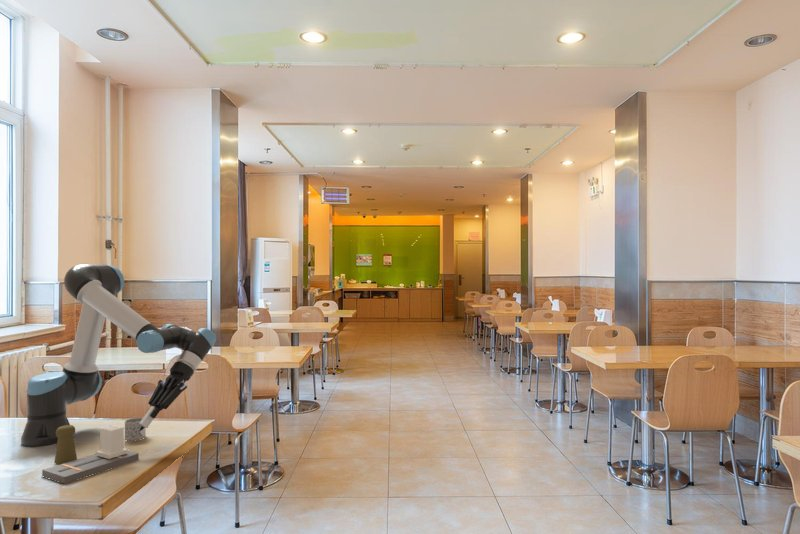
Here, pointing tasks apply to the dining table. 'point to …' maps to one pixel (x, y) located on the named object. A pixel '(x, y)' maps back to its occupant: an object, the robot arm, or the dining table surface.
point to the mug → (134, 429)
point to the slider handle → (111, 442)
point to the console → (86, 467)
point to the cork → (65, 445)
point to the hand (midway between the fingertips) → (143, 425)
